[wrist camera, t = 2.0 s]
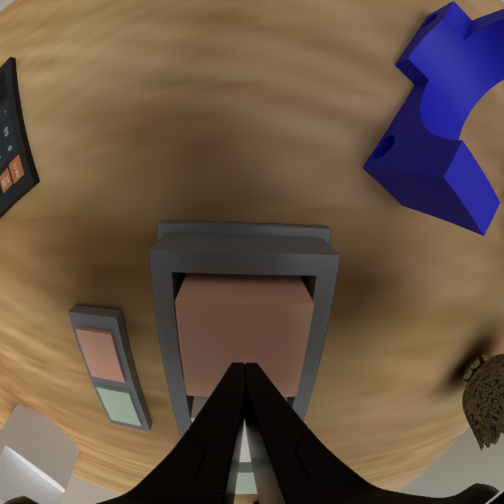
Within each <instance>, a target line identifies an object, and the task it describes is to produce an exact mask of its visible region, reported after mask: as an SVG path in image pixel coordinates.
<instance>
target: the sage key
mask: <svg viewBox="0 0 504 504" xmlns="http://www.w3.org/2000/svg"><path fill="white" fill-rule="evenodd" d="M235 494H257V489H256V484H255V478H254V473H253V468H252V462H239V468H238V475H237V482H236V489H235Z"/></svg>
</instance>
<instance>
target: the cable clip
mask: <svg viewBox="0 0 504 504" xmlns="http://www.w3.org/2000/svg"><path fill="white" fill-rule="evenodd" d="M395 66H396V67H397V68H398V69H400V70H401V71H402V72H403V73H404V74H405V75H406V76H407V77H408V78H409V79H410V80H411V81H412V82H413V83H414V84H415V86H414V88H413V90H412V91H411V93H410V95H409V96H408V98H407V99H406V101H405V103H404V104H403V106H402V108H401V109H400V111H399V112H398V114H397V116H396V117H395V119H394V120H393V122H392V123H391V125H390V127H389V128H388V130H387V131H386V133H385V134H384V136H383V137H382V139H381V141H380V142H379V144H378V145H377V147H376V148H375V150H374V151H373V153H372V154H371V156H370V157H369V159H368V160H367V162H366V163H365V165H364V166H363V169H364V170H366V171H367V172H368V173H369V174H370V175H371V176H372V177H373V178H374V179H376V180H377V181H378V182H379V183H380V184H381V185H382V186H383V187H384V188H385V189H386V190H387V191H388V192H389V193H390V194H391V195H392V196H393V197H394V198H395V199H396V200H397V201H398V202H399V203H400V204H401V205H402V206H405V207H408V208H411V209H414V210H417V211H420V212H423V213H426V214H429V215H431V216H434V217H437V218H440V219H442V220H445V221H448V222H450V223H453V224H456V225H458V226H461V227H463V228H466V229H468V230H471V231H473V232H476V233H478V234H480V235H483V236H484V235H485V233H486V231H487V229H488V227H489V225H490V223H491V221H492V219H493V217H494V215H495V213H496V210H497V208H498V206H499V204H500V201H499V199H498V197H497V196H496V194H495V192H494V190H493V188H492V186H491V185H490V183H489V181H488V179H487V178H486V176H485V174H484V173H483V171H482V169H481V168H480V166H479V165H478V163H477V161H476V160H475V158H474V157H473V155H472V154H471V152H470V151H469V149H468V148H467V147H466V145H465V144H464V142H463V141H462V140H459V136H460V133H461V130H462V127H463V125H464V122H465V120H466V118H467V116H468V115H469V113H470V111H471V110H472V108H473V107H474V106H475V104H476V103H477V102H478V101H479V100H480V98H481V97H482V96H483V95H484V94H485V93H486V92H487V91H488V90H490V89H491V88H492V87H493V86H495V85H496V84H497V83H499V82H500V81H502V80H504V9H502V10H499V11H496V12H493V13H491V14H488V15H485V16H483V17H480V18H478V19H475V20H473V21H472V20H471V19H470V18H469V17H468V16H467V15H466V13H465V12H464V11H463V10H462V9H461V8H460V7H459V6H458V5H457V4H456V3H455V2H454V1H453V2H451V3H449V4H447V5H445V6H444V7H442V8H440V9H438V10H437V11H435V12H433V13H432V14H430V15H428V17H427V18H426V20H425V21H424V23H423V24H422V26H421V27H420V29H419V30H418V32H417V33H416V35H415V36H414V38H413V39H412V41H411V42H410V44H409V45H408V47H407V48H406V50H405V51H404V53H403V54H402V56H401V57H400V59H399V60H398V61H397V63H396V64H395Z"/></svg>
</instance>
